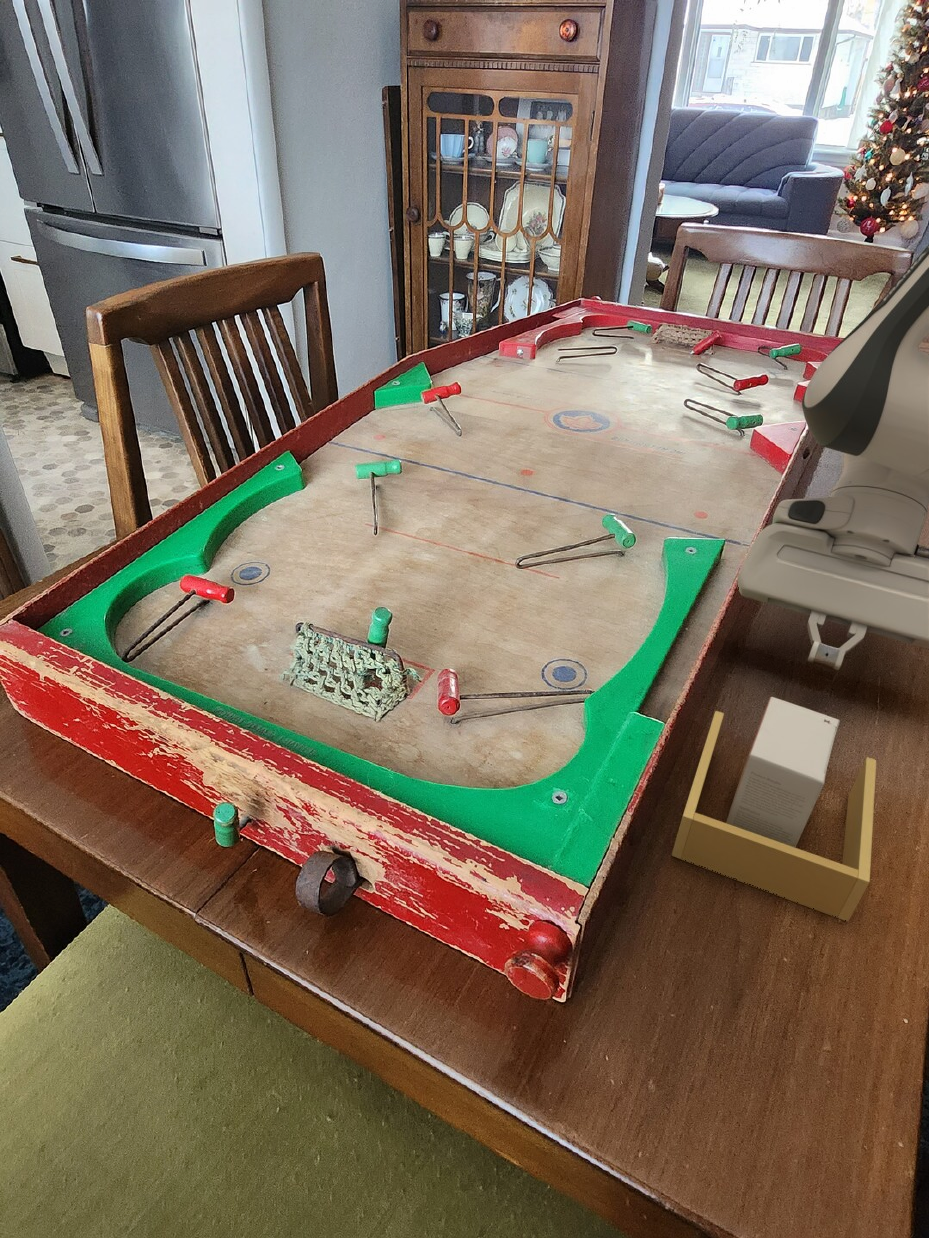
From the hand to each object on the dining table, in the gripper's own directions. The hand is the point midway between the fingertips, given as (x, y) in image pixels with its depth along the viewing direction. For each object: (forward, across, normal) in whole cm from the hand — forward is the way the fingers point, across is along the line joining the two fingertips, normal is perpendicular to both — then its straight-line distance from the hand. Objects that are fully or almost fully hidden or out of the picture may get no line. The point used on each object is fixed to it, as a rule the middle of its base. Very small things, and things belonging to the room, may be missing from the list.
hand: (823, 665), depth 75 cm
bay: (+16, 0, +8) cm, 18 cm away
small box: (+16, +1, +8) cm, 18 cm away
